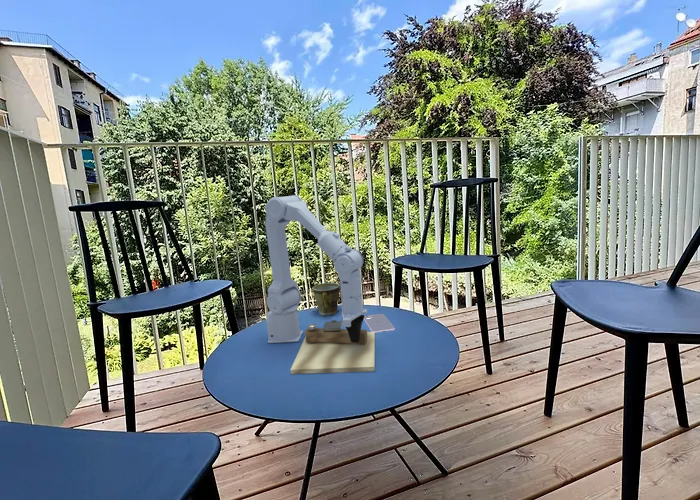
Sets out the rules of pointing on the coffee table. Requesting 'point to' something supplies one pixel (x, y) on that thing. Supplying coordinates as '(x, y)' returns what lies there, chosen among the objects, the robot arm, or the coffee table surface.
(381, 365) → the coffee table surface
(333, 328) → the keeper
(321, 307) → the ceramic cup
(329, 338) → the link
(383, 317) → the mobile phone
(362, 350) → the base plate
